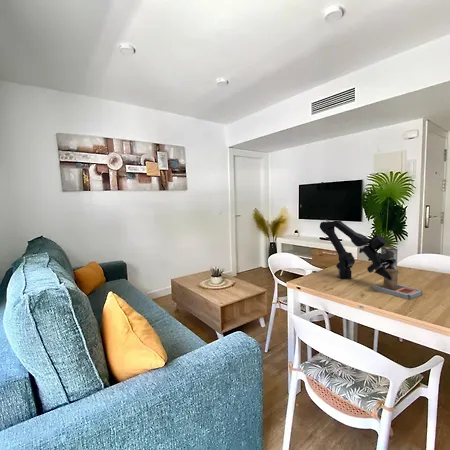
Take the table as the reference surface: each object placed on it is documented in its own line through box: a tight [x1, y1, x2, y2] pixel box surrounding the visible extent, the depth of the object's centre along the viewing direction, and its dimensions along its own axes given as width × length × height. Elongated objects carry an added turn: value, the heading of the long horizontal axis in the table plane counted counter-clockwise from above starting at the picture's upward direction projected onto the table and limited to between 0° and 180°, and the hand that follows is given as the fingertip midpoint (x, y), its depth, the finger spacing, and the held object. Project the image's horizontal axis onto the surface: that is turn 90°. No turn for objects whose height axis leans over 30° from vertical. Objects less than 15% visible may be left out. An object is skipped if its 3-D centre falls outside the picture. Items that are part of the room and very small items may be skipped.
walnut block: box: [383, 268, 398, 291], centre depth 133 cm, size 4×4×11 cm
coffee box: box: [381, 246, 398, 270], centre depth 164 cm, size 9×6×16 cm
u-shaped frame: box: [372, 283, 423, 301], centre depth 131 cm, size 18×12×2 cm, turn 29°
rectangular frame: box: [396, 287, 416, 295], centre depth 127 cm, size 6×9×2 cm, turn 119°
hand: (393, 278), depth 132 cm, fingers closed on walnut block, 4 cm apart
